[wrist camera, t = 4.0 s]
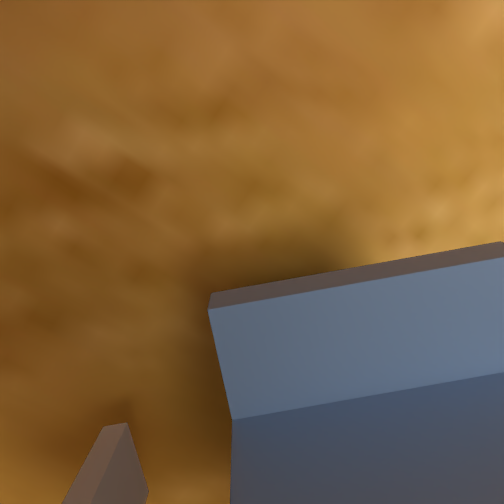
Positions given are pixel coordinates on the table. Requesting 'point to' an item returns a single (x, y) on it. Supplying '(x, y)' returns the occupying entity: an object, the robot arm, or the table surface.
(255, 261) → the table surface
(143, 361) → the table surface
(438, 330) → the block
